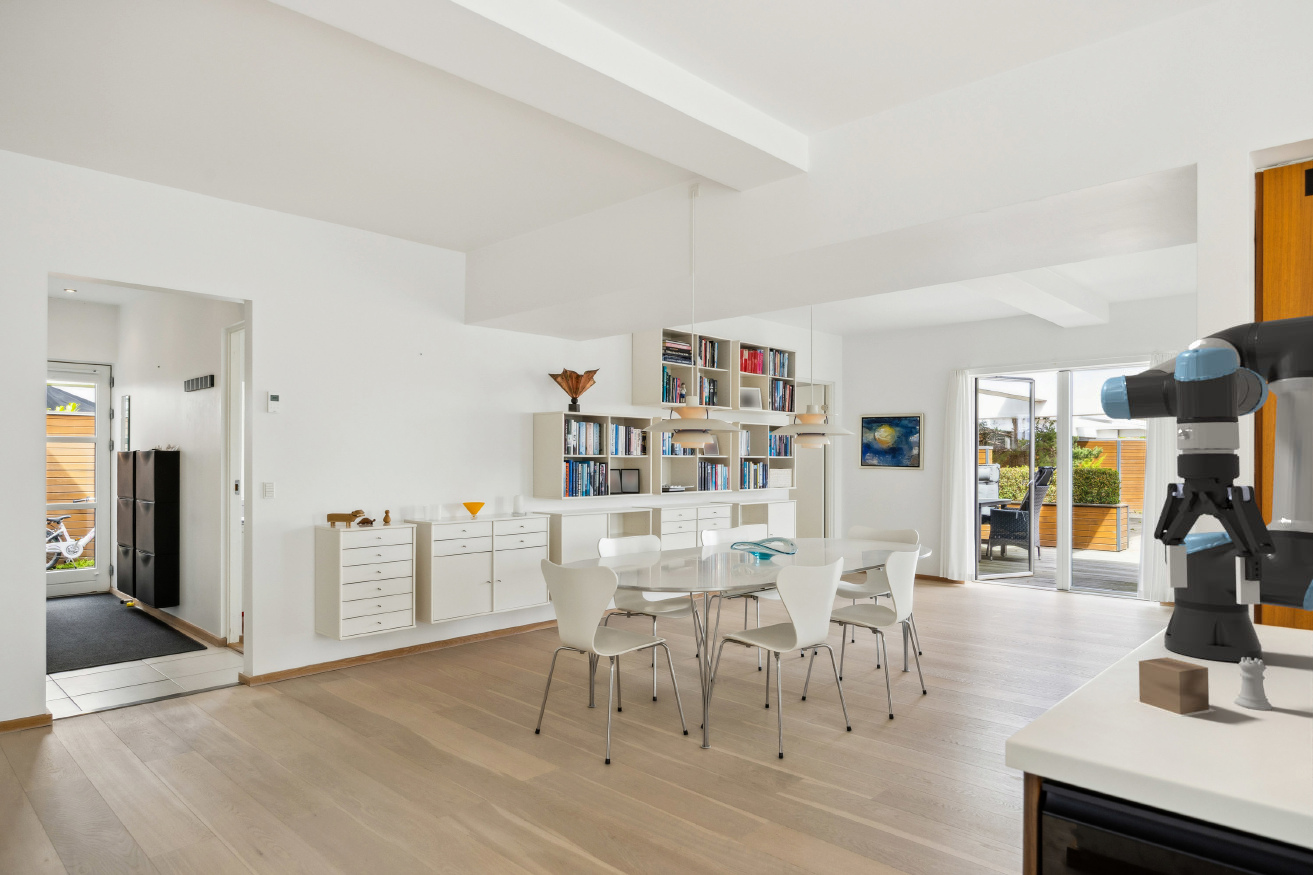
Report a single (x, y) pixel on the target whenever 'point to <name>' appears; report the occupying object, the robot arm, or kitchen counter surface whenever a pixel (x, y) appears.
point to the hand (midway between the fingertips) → (1210, 595)
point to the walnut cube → (1174, 685)
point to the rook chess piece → (1252, 685)
